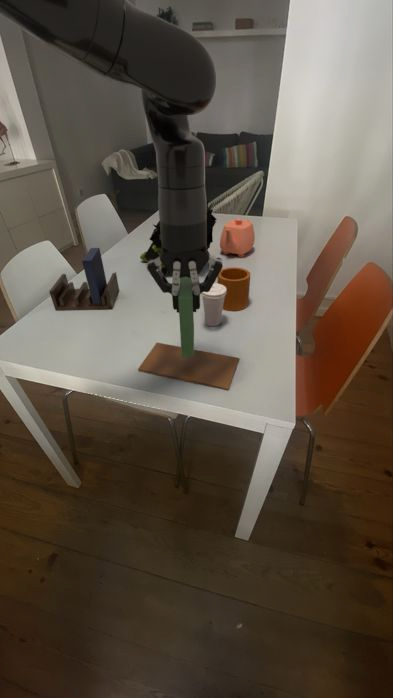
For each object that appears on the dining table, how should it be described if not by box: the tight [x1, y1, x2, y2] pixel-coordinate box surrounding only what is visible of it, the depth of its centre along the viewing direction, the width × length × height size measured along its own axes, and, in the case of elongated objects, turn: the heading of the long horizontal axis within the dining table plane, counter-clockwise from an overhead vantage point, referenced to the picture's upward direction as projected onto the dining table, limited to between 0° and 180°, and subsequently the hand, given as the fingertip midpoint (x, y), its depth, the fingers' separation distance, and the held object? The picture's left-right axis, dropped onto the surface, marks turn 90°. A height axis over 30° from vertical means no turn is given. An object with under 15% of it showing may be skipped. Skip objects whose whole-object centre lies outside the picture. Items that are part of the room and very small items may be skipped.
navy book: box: [81, 247, 108, 305], centre depth 89 cm, size 2×9×13 cm, turn 1°
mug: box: [217, 266, 251, 312], centre depth 89 cm, size 9×12×9 cm
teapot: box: [219, 217, 256, 258], centre depth 117 cm, size 20×12×12 cm, turn 152°
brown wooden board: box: [137, 342, 240, 391], centre depth 69 cm, size 20×10×1 cm, turn 72°
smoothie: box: [200, 282, 227, 327], centre depth 79 cm, size 6×6×14 cm
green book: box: [178, 277, 195, 357], centre depth 62 cm, size 2×9×13 cm, turn 1°
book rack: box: [48, 272, 120, 311], centre depth 92 cm, size 16×11×6 cm
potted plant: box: [139, 201, 218, 277], centre depth 104 cm, size 21×22×30 cm
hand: (186, 309), depth 61 cm, fingers closed on green book, 2 cm apart
